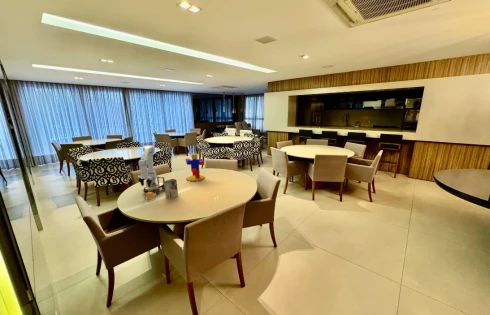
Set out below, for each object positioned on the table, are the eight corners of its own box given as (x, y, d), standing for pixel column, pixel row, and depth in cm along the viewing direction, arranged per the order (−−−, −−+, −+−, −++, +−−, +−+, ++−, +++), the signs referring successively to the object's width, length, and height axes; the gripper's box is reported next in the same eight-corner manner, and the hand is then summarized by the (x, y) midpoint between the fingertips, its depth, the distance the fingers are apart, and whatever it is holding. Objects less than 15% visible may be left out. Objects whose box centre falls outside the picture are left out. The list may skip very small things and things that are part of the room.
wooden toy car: (155, 195, 181) (153, 183, 178) (143, 194, 185) (142, 181, 182) (167, 189, 197) (166, 177, 194) (156, 187, 201) (155, 176, 198)
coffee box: (173, 194, 185) (172, 178, 181) (178, 195, 181) (176, 179, 178) (165, 197, 177) (163, 181, 173) (170, 199, 174) (168, 182, 170)
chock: (146, 198, 175) (145, 193, 174) (152, 195, 182) (151, 190, 180) (150, 199, 174) (150, 194, 172) (156, 196, 180) (155, 191, 179)
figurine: (203, 174, 241) (201, 151, 234) (206, 180, 222) (205, 154, 215) (185, 177, 233) (183, 152, 226) (187, 183, 213) (185, 156, 206)
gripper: (134, 172, 175) (136, 186, 178) (147, 174, 171) (149, 188, 174) (140, 170, 182) (142, 184, 185) (153, 172, 177) (154, 185, 180)
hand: (146, 186), depth 180 cm, fingers open, 7 cm apart
